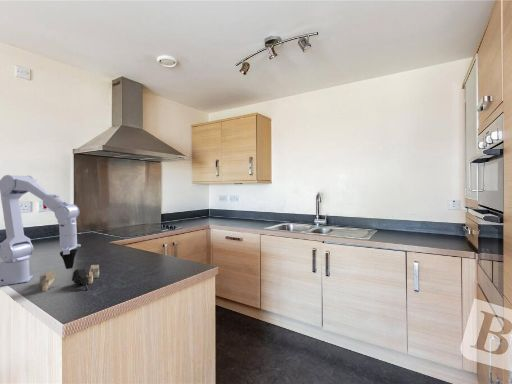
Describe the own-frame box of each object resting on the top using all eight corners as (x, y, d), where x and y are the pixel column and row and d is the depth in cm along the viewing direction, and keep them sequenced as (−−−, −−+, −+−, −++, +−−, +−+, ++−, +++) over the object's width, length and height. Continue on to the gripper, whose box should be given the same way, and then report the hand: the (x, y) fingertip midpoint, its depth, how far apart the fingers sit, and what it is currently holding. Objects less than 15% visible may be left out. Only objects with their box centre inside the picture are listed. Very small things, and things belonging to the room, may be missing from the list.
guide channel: (35, 292, 100) (35, 282, 99) (46, 278, 115) (45, 269, 115) (97, 282, 109) (97, 272, 109) (99, 270, 125) (99, 261, 125)
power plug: (78, 290, 99) (71, 266, 105) (76, 303, 102) (69, 279, 109) (96, 286, 103) (88, 263, 109) (93, 298, 106) (85, 275, 113)
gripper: (78, 236, 104) (79, 271, 105) (81, 231, 117) (82, 262, 118) (55, 238, 101) (57, 274, 101) (62, 232, 114) (63, 264, 114)
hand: (69, 268), depth 109 cm, fingers closed
